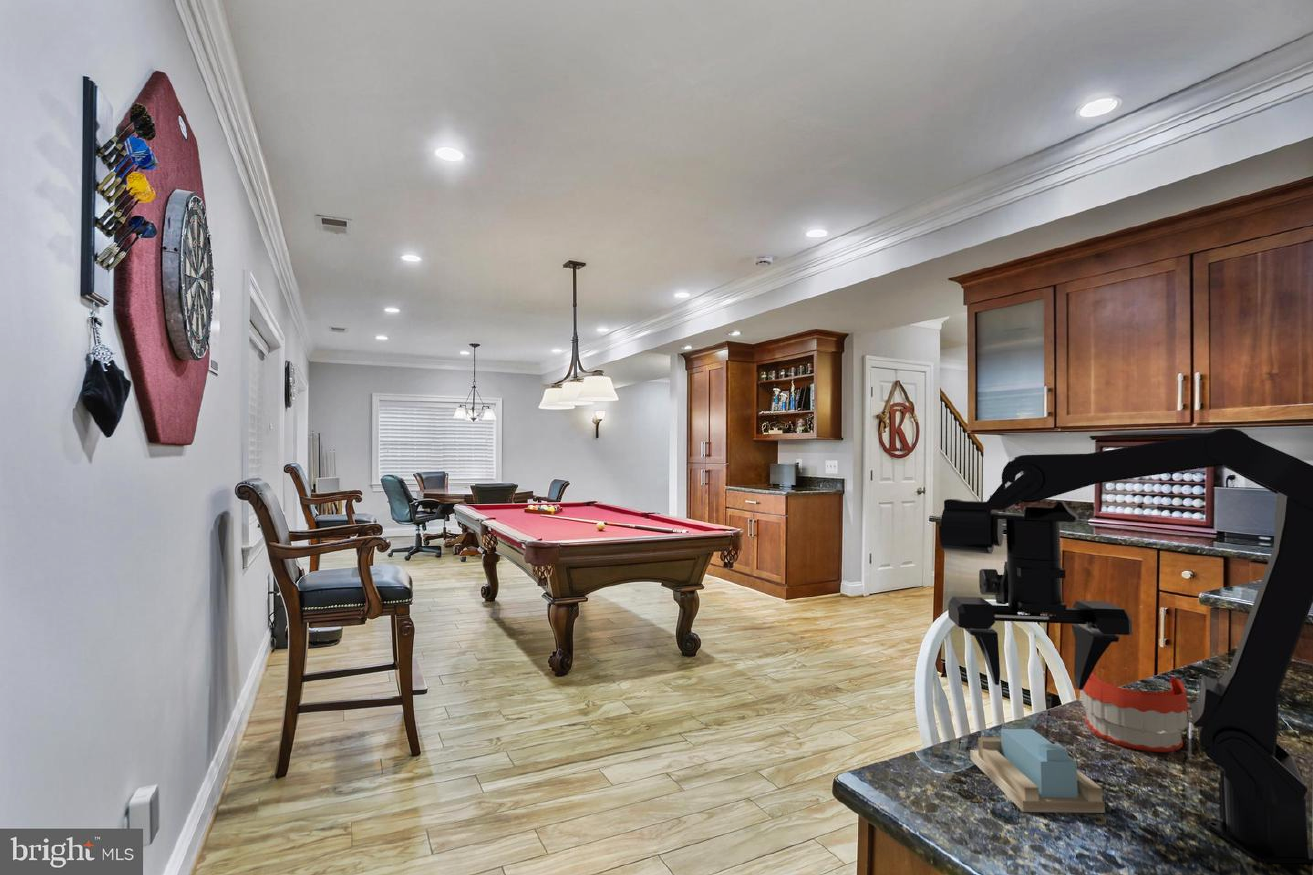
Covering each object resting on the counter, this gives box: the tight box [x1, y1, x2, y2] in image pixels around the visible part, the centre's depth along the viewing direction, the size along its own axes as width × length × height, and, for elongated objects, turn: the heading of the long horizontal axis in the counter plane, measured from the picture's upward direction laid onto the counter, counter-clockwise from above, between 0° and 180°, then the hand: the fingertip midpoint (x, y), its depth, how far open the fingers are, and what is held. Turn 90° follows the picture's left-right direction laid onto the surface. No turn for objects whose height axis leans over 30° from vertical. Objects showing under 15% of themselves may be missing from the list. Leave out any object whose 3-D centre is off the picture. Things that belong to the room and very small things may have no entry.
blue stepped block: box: [1000, 728, 1078, 798], centre depth 78 cm, size 9×4×5 cm, turn 178°
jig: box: [969, 736, 1106, 814], centre depth 79 cm, size 13×9×4 cm
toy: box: [1079, 672, 1189, 753], centre depth 91 cm, size 12×10×8 cm
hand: (1037, 686), depth 79 cm, fingers open, 9 cm apart
